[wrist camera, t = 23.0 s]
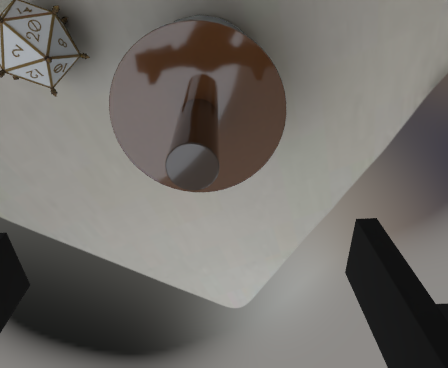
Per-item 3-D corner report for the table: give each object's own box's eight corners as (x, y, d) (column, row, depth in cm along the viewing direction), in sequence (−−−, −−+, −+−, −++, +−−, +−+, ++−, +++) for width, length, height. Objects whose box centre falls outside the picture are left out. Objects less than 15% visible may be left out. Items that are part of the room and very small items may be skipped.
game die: (50, 20, 38) (-26, -49, 29) (114, 44, 37) (58, -21, 27) (17, 92, 38) (-71, 47, 28) (81, 118, 37) (11, 80, 27)
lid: (289, 15, 25) (329, 29, 16) (279, 182, 32) (303, 255, 24) (95, 22, 25) (30, 41, 16) (129, 189, 32) (97, 264, 23)
